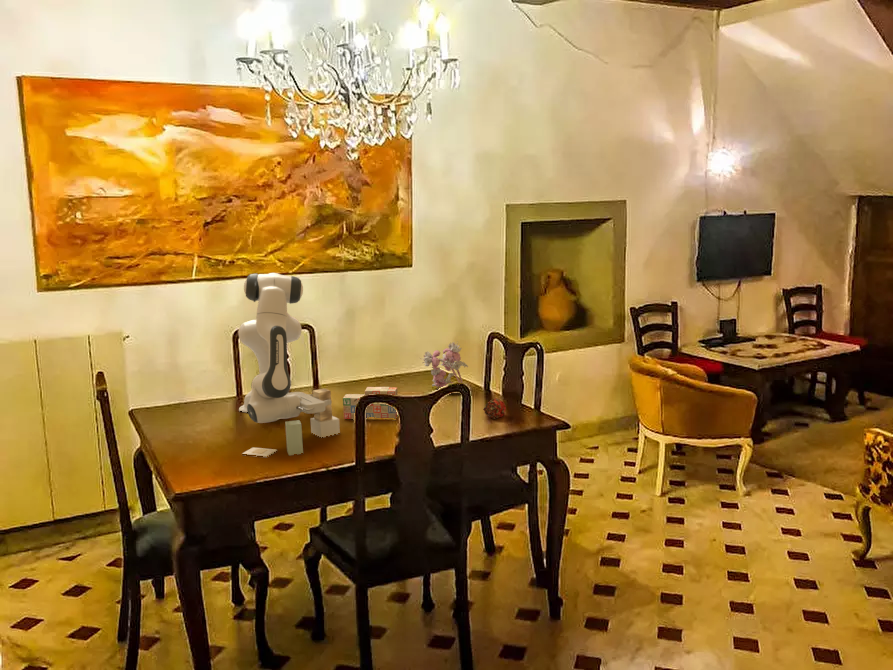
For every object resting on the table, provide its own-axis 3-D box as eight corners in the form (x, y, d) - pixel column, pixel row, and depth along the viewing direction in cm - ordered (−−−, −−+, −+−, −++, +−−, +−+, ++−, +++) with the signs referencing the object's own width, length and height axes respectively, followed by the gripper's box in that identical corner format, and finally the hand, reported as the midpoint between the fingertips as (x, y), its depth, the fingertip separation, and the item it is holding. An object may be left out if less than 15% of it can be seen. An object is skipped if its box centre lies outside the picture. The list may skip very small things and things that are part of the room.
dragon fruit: (494, 426, 335) (492, 421, 347) (512, 413, 335) (509, 409, 347) (481, 409, 335) (479, 405, 347) (498, 395, 335) (496, 392, 347)
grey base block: (321, 438, 322) (320, 422, 321) (311, 433, 328) (310, 418, 327) (339, 434, 326) (339, 418, 325) (329, 429, 333) (329, 414, 332)
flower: (479, 381, 394) (454, 333, 392) (483, 388, 371) (456, 337, 369) (441, 401, 394) (415, 353, 392) (441, 410, 372) (414, 359, 370)
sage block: (287, 451, 307) (285, 421, 305) (301, 449, 309) (299, 420, 307) (288, 455, 303) (287, 425, 301) (303, 453, 304) (301, 423, 302)
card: (242, 455, 305) (242, 452, 304) (252, 448, 311) (252, 446, 311) (266, 457, 301) (266, 455, 301) (277, 451, 308) (276, 449, 308)
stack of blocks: (343, 420, 344) (341, 390, 342) (346, 416, 350) (345, 386, 348) (396, 420, 342) (395, 390, 339) (398, 416, 348) (397, 386, 345)
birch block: (320, 421, 322) (318, 393, 320) (314, 418, 326) (312, 390, 324) (332, 418, 325) (330, 390, 323) (326, 416, 329) (324, 388, 327)
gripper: (303, 402, 308) (337, 396, 316) (279, 391, 324) (312, 385, 332) (304, 419, 309) (338, 412, 317) (280, 407, 326) (312, 401, 334)
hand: (324, 398), depth 325 cm, fingers open, 8 cm apart
